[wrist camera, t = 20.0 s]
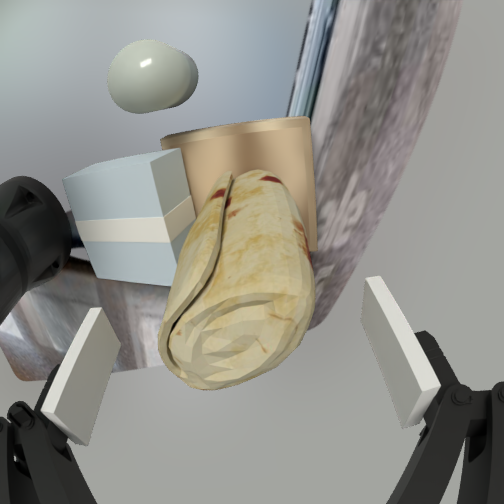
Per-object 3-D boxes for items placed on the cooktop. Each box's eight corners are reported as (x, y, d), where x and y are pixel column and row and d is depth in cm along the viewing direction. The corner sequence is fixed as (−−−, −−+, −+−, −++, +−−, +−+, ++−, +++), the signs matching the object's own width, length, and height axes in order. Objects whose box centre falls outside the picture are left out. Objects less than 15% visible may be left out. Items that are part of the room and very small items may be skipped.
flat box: (121, 255, 36) (96, 278, 32) (93, 164, 31) (61, 179, 26) (205, 259, 33) (183, 288, 28) (181, 147, 27) (149, 162, 23)
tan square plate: (193, 252, 36) (189, 266, 34) (167, 135, 29) (160, 139, 27) (312, 238, 36) (317, 251, 33) (303, 116, 29) (309, 118, 26)
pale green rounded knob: (173, 120, 29) (149, 128, 23) (127, 88, 27) (94, 90, 21) (211, 70, 26) (196, 64, 20) (162, 38, 24) (136, 27, 18)
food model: (234, 250, 33) (217, 423, 15) (184, 210, 30) (110, 367, 13) (301, 185, 29) (368, 332, 12) (250, 138, 27) (246, 230, 10)
